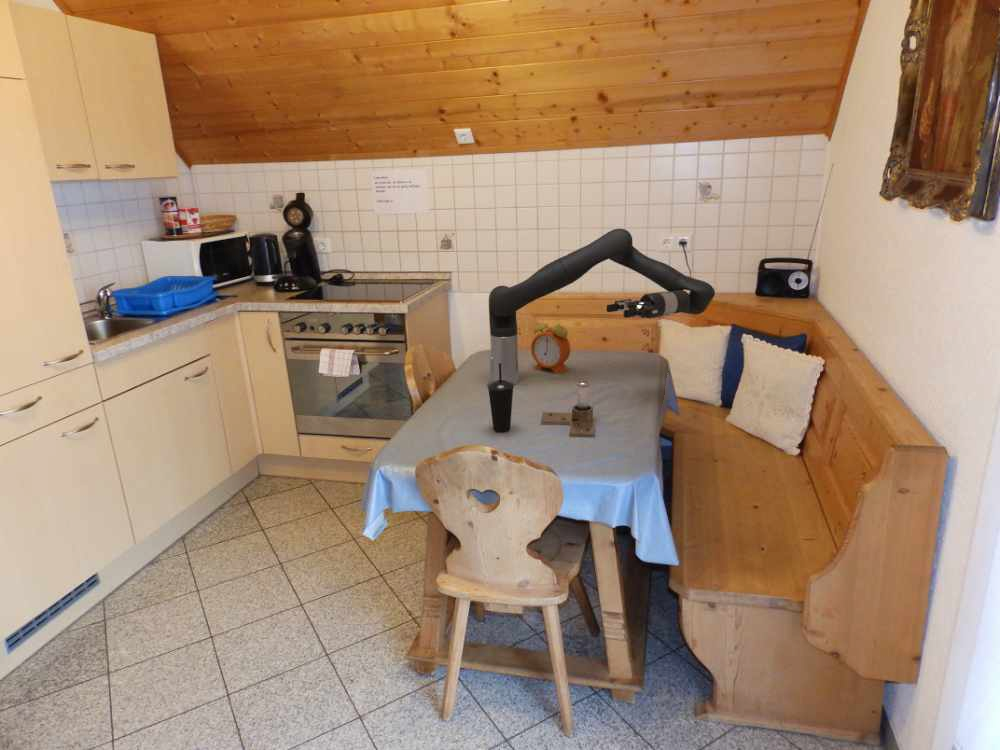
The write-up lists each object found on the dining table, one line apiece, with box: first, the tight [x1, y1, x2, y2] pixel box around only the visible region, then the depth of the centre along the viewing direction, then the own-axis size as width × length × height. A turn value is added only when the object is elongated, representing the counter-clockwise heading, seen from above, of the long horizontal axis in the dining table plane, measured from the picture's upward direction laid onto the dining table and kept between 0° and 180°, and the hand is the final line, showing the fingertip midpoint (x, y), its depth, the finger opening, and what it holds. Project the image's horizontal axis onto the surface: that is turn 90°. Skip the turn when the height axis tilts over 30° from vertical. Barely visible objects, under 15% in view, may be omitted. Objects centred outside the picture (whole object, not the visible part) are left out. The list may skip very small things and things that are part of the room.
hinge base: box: [540, 404, 596, 438], centre depth 195 cm, size 16×16×4 cm
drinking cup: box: [486, 363, 515, 434], centre depth 192 cm, size 8×8×20 cm
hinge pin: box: [576, 379, 590, 411], centre depth 198 cm, size 4×4×12 cm
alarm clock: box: [530, 315, 571, 375], centre depth 243 cm, size 13×6×20 cm, turn 55°
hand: (615, 311), depth 201 cm, fingers open, 8 cm apart
